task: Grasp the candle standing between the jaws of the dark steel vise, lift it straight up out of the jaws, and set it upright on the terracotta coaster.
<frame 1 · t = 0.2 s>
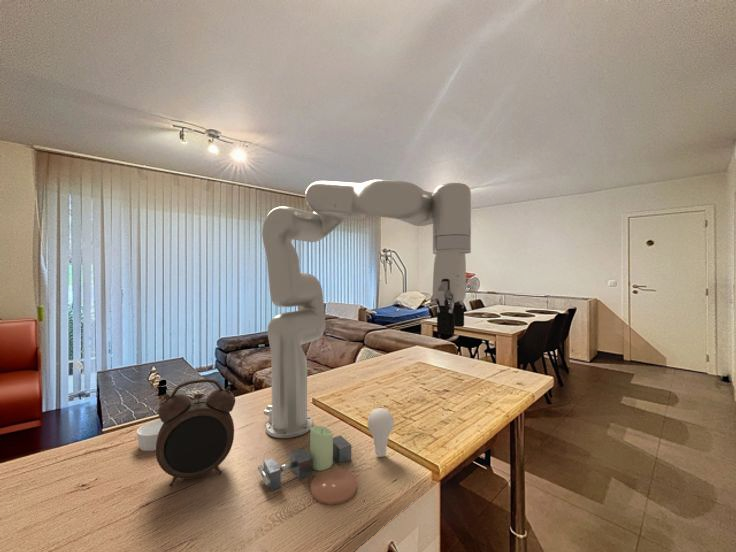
hand: (451, 329, 64), 31 cm above the kitchen counter, tool pointing down, fingers open, 9 cm apart
candle: (321, 464, 70), on the kitchen counter
coaster: (334, 487, 62), on the kitchen counter
lightbulb: (380, 457, 72), on the kitchen counter
alarm clock: (197, 476, 65), on the kitchen counter
ramekin: (158, 443, 78), on the kitchen counter
vise: (321, 463, 70), on the kitchen counter
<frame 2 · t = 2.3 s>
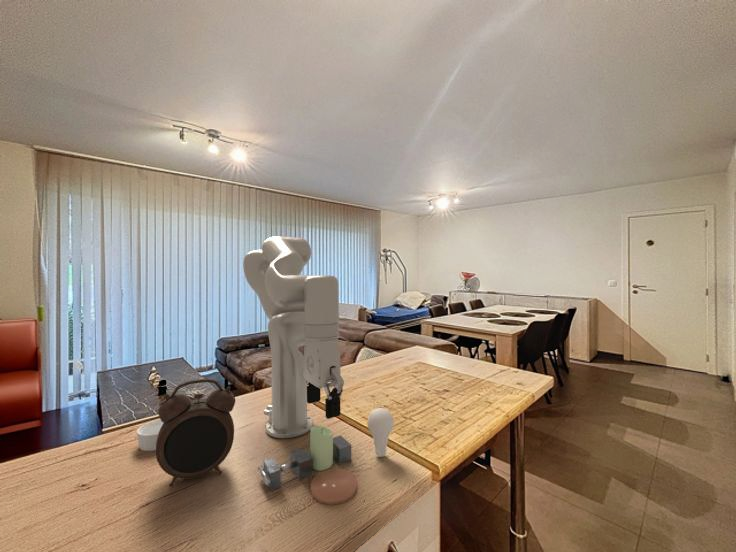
hand: (322, 409, 69), 12 cm above the kitchen counter, tool pointing down, fingers open, 9 cm apart
nothing on the kitchen counter moved.
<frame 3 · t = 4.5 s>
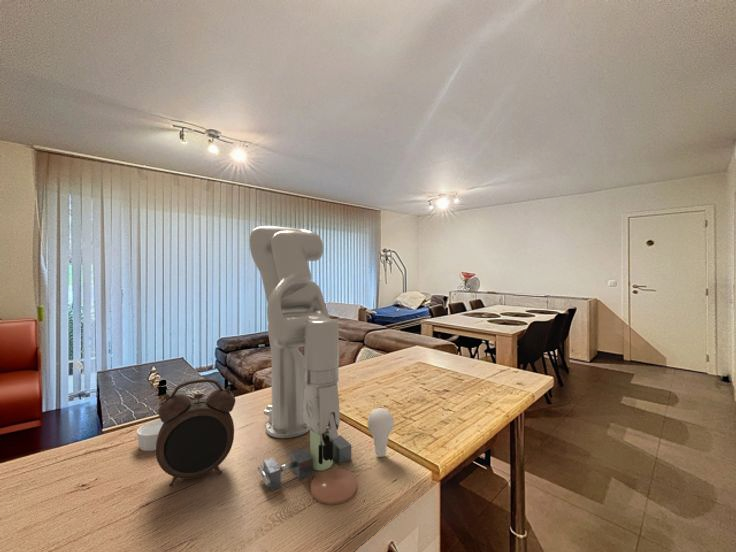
hand: (321, 456, 70), 2 cm above the kitchen counter, tool pointing down, fingers closed on candle, 3 cm apart
candle: (321, 464, 70), on the kitchen counter, touching gripper
everything else where it was.
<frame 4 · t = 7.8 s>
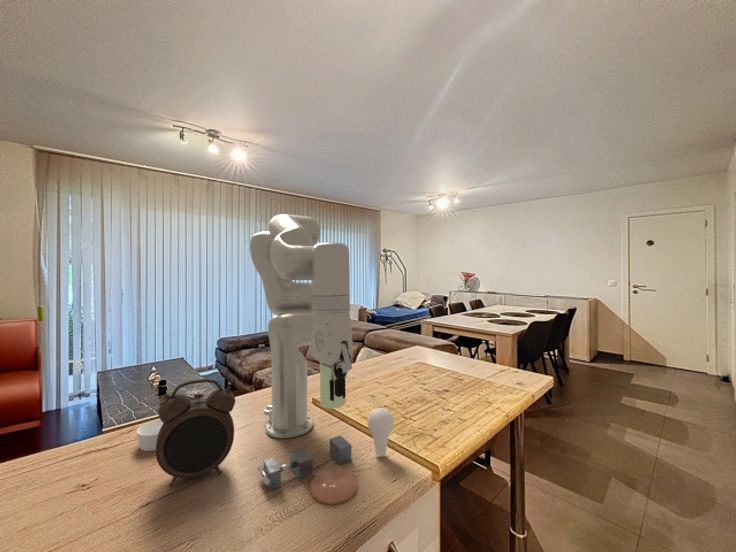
hand: (332, 395, 63), 18 cm above the kitchen counter, tool pointing down, fingers closed on candle, 3 cm apart
candle: (333, 404, 63), point 16 cm above the kitchen counter, touching gripper
everything else where it was.
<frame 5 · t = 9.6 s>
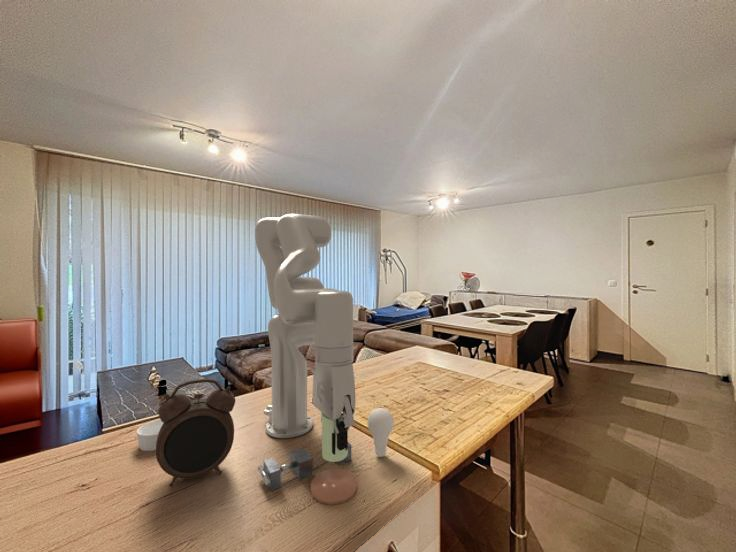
hand: (334, 446, 62), 8 cm above the kitchen counter, tool pointing down, fingers closed on candle, 3 cm apart
candle: (335, 456, 61), point 6 cm above the kitchen counter, touching gripper
everything else where it was.
when the fingers open (4 cm above the kitchen counter, at t = 11.2 s): candle stays where it is, resting on coaster.
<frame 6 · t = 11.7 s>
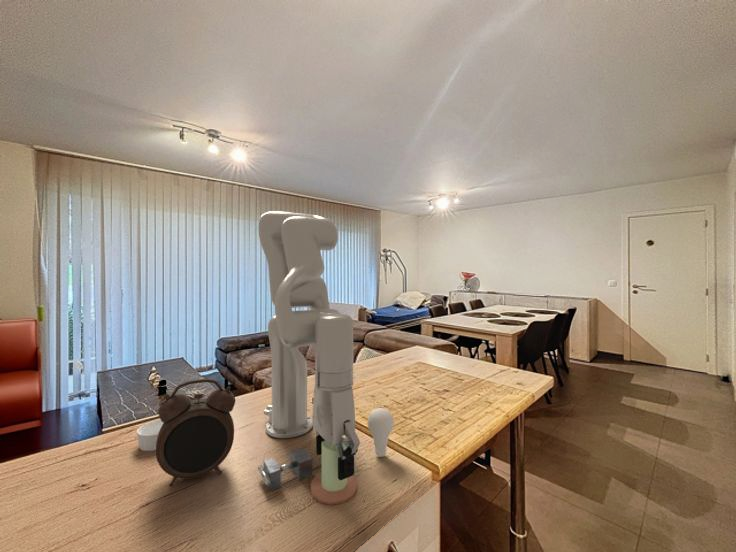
hand: (334, 464, 62), 5 cm above the kitchen counter, tool pointing down, fingers open, 9 cm apart
candle: (334, 484, 62), point 1 cm above the kitchen counter, touching coaster
everything else where it was.
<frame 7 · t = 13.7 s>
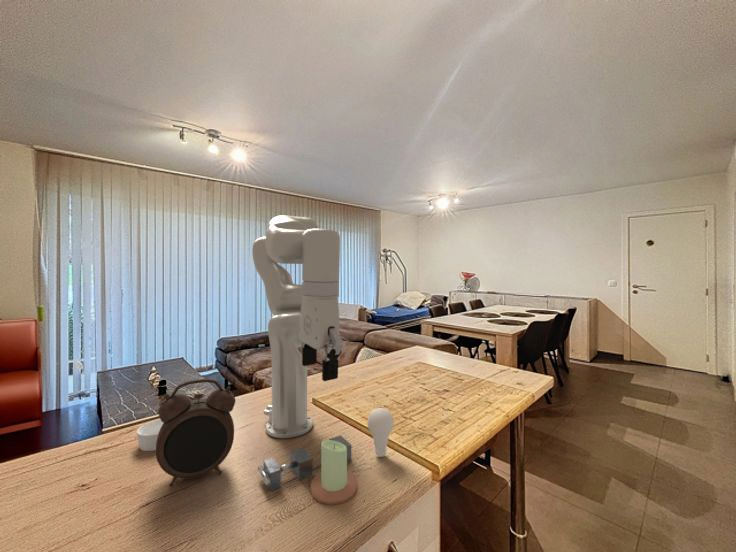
hand: (319, 371, 65), 22 cm above the kitchen counter, tool pointing down, fingers open, 9 cm apart
nothing on the kitchen counter moved.
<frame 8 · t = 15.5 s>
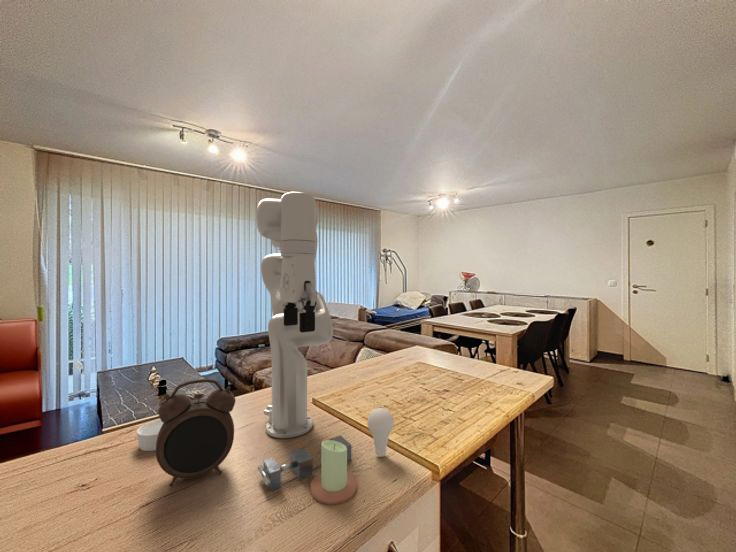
hand: (298, 328, 69), 30 cm above the kitchen counter, tool pointing down, fingers open, 9 cm apart
nothing on the kitchen counter moved.
at the end: candle 0.3 cm off-centre on the coaster, point 0.8 cm above the coaster's base; candle tilted 0°; the gripper is holding nothing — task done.
